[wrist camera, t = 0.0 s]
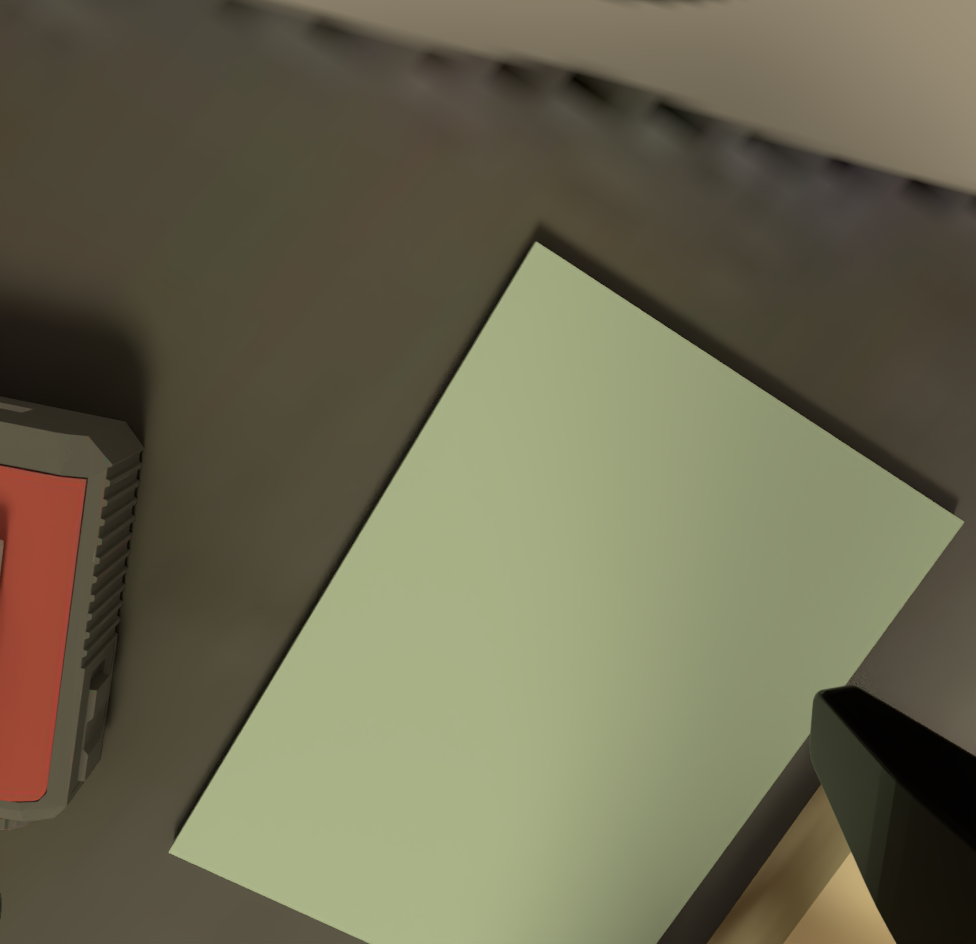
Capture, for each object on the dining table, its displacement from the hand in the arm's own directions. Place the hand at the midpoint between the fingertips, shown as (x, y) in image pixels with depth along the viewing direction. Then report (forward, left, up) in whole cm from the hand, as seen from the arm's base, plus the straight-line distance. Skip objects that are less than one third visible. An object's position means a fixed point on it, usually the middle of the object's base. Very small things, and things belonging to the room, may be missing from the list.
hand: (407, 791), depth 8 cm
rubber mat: (-3, -7, -15) cm, 17 cm away
